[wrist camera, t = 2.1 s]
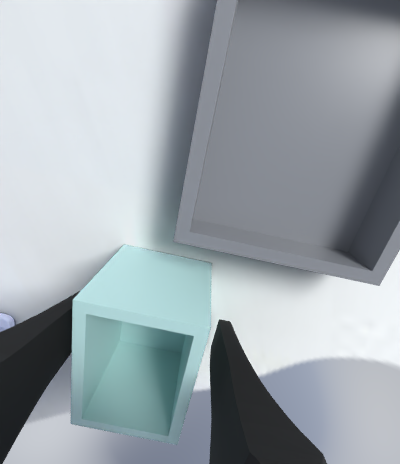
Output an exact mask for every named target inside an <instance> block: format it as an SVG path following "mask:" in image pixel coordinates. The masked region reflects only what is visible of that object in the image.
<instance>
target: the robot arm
mask: <svg viewBox="0 0 400 464" xmlns="http://www.w3.org/2000/svg"><path fill="white" fill-rule="evenodd" d="M79 292H80V291H79ZM79 292H78V293H79ZM78 293H76V294H74V295H72V296H70V297H69V298H67V299H65V300H63V301H62V302H60V303H58V304H56V305H55V306H53V307H51V308H49V309H47V310H46V311H44V312H42V313H40V314H38V315H36V316H34V317H32V318H30V319H28V320H26V321H24V322H22V323H20V324H17V325H15V324H14V319H13V318H12V317H11V316H10V315H7V314H2V313H0V464H2V463H3V461H4V460H5V458H6V456H7V454H8V452H9V451H10V449H11V447H12V445H13V443H14V442H15V440H16V438H17V436H18V435H19V433H20V431H21V429H22V428H23V426H24V424H25V422H26V421H27V419H28V417H29V416H30V414H31V412H32V410H33V409H34V407H35V405H36V404H37V402H38V400H39V399H40V397H41V395H42V394H43V392H44V390H45V389H46V387H47V386H48V384H49V383H50V381H51V380H52V378H53V377H54V376H55V374H56V373H57V372H58V370H59V369H60V367H61V366H62V365H63V363H64V362H65V361H66V359H67V358H68V356H69V355H70V354H71V352H72V309H73V299H74V298H75V297H76V296H77V295H78ZM210 386H211V413H212V415H211V416H212V417H211V418H212V421H211V422H212V423H211V444H210V463H209V464H327V463H326V460H325V458H324V456H323V454H322V453H321V452H320V451H319V450H318V449H317V448H316V447H315V445H314V444H312V442H311V441H310V440H309V439H308V438H307V437H306V436H305V435H304V434H303V433H302V432H301V431H300V430H299V429H298V428H297V427H296V426H295V424H293V422H292V421H291V420H290V419H289V418H288V417H287V415H286V414H285V413H284V412H283V410H282V409H281V408H280V407H279V405H278V404H277V403H276V402H275V400H274V399H273V398H272V396H271V395H270V394H269V392H268V391H267V390H266V388H265V387H264V385H263V384H262V382H261V381H260V379H259V377H258V376H257V374H256V373H255V371H254V369H253V367H252V366H251V364H250V362H249V360H248V358H247V357H246V355H245V353H244V351H243V349H242V347H241V345H240V343H239V340H238V338H237V336H236V334H235V331H234V329H233V327H232V324H231V322H230V321H225V320H220V319H219V322H218V325H217V329H216V332H215V335H214V339H213V342H212V345H211V355H210Z"/></svg>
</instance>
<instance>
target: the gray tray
mask: <svg viewBox="0 0 400 464" xmlns="http://www.w3.org/2000/svg"><path fill="white" fill-rule="evenodd" d="M173 242H177V243H181V244H186V245H191V246H195V247H200V248H205V249H209V250H214V251H219V252H223V253H228V254H233V255H237V256H242V257H247V258H251V259H256V260H261V261H265V262H270V263H275V264H280V265H284V266H289V267H294V268H298V269H303V270H308V271H312V272H317V273H322V274H326V275H331V276H336V277H340V278H345V279H350V280H354V281H359V282H364V283H368V284H373V285H378V286H379V285H380V284H381V282H382V280H383V278H384V277H385V275H386V273H387V271H388V270H389V268H390V266H391V264H392V262H393V261H394V259H395V257H396V255H397V254H398V252H399V250H400V0H217V4H216V9H215V15H214V20H213V26H212V31H211V37H210V42H209V48H208V53H207V59H206V64H205V70H204V75H203V81H202V86H201V92H200V97H199V103H198V108H197V114H196V119H195V125H194V130H193V136H192V141H191V147H190V152H189V158H188V163H187V169H186V174H185V180H184V185H183V191H182V196H181V202H180V207H179V213H178V218H177V224H176V229H175V235H174V240H173Z"/></svg>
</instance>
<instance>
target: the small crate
mask: <svg viewBox="0 0 400 464" xmlns="http://www.w3.org/2000/svg"><path fill="white" fill-rule="evenodd" d="M211 270H212V263H209V262H204V261H199V260H195V259H190V258H185V257H181V256H176V255H171V254H167V253H162V252H157V251H153V250H148V249H143V248H138V247H134V246H129V245H123V246H122V247H121V248H120V250H119V251H118V252H117V253H116V254H115V255H114V256H113V257H112V258H111V259H110V260H109V261H108V262H107V263H106V265H105V266H104V267H103V268H102V269H101V270H100V271H99V272H98V273H97V274H96V275H95V276H94V277H93V278H92V280H91V281H90V282H89V283H88V284H87V285H86V286H85V287H84V288H83V289H82V290H81V291H80V292H79V293H78V295H77V296H76V297H75V298H74V299H73V309H72V372H71V424H74V425H79V426H84V427H89V428H94V429H99V430H104V431H110V432H114V433H119V434H124V435H130V436H135V437H139V438H145V439H150V440H155V441H160V442H165V443H170V444H175V445H177V444H178V441H179V437H180V434H181V430H182V426H183V423H184V420H185V416H186V412H187V409H188V405H189V402H190V399H191V395H192V392H193V388H194V385H195V381H196V378H197V374H198V371H199V367H200V364H201V360H202V357H203V353H204V350H205V346H206V343H207V339H208V335H209V332H210V328H211Z"/></svg>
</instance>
